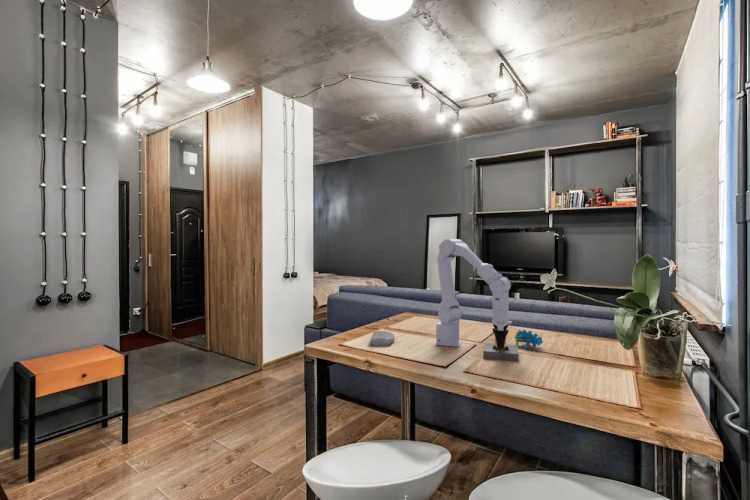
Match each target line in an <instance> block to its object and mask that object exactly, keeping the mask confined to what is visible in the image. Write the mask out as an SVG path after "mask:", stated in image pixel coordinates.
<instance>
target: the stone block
mask: <svg viewBox="0 0 750 500" xmlns="http://www.w3.org/2000/svg"><path fill="white" fill-rule="evenodd" d="M395 339H396V337H395V334H394V333H392V332H391V331H386V330H375V331H373V332H372V335H371V336H370V345H371V346H372V347H375V346H376V347H380V346H381V347H388V346H390V345H391V344H393V343H394V342H395Z"/></svg>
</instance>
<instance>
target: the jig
mask: <svg viewBox="0 0 750 500" xmlns="http://www.w3.org/2000/svg"><path fill="white" fill-rule="evenodd" d="M482 357H483V359H493V360H503V361H512V362H519V349H518V345H516V344H509V343H506V351H504V350H495V342H484V346H483V356H482Z"/></svg>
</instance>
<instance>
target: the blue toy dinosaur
mask: <svg viewBox="0 0 750 500" xmlns="http://www.w3.org/2000/svg"><path fill="white" fill-rule="evenodd" d="M538 335H539V334H537V333H534V334H533V331H531V330H528V331H527V330H526V329H522V330H520V329H519V330H518V332H517V331H516V334H514V339H515V341H516V342H515V345H517V346H519V343H525V346H524V349H525V350H527V349H528V348H529V345H532V346H535V347H536V345H537V346H541V344H543V338H542V337H541V336H538Z"/></svg>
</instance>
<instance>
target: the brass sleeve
mask: <svg viewBox="0 0 750 500" xmlns="http://www.w3.org/2000/svg"><path fill="white" fill-rule="evenodd" d="M494 343H495V350H504V351H506V344H507V338H506V339H505V345H504V348H498V347H497V343H496V338H495V337H494Z"/></svg>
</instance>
